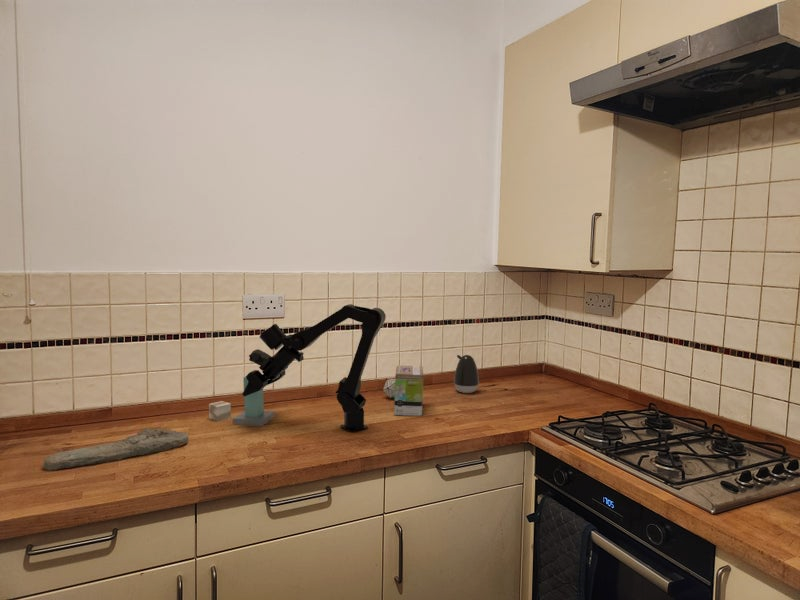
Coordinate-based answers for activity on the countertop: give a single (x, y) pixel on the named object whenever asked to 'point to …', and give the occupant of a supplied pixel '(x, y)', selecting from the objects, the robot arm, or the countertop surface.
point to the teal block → (253, 402)
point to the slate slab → (254, 419)
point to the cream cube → (219, 411)
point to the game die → (389, 388)
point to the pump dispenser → (466, 375)
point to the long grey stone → (117, 449)
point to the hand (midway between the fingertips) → (250, 391)
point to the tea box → (408, 390)
